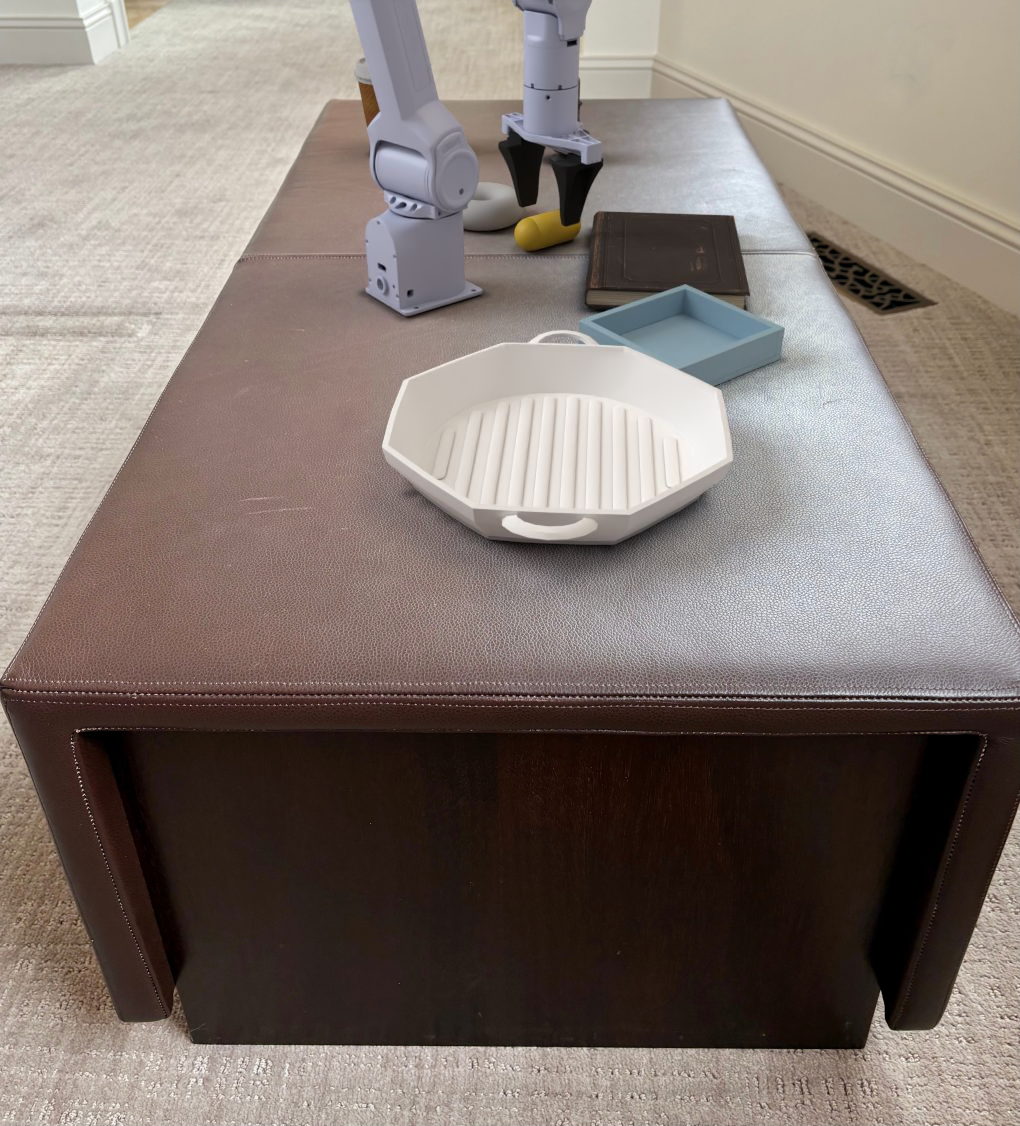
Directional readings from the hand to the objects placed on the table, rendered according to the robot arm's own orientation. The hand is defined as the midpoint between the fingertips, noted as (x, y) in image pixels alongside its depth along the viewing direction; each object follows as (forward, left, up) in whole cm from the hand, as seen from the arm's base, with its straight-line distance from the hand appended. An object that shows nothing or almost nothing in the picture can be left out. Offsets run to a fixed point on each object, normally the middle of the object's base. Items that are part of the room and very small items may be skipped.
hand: (548, 214), depth 118 cm
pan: (-29, -37, -4) cm, 47 cm away
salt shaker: (+22, +23, -4) cm, 32 cm away
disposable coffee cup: (+5, +40, -4) cm, 40 cm away
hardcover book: (+5, -13, -4) cm, 15 cm away
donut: (-1, +11, -4) cm, 12 cm away
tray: (-8, -29, -4) cm, 30 cm away
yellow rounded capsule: (0, 0, -4) cm, 4 cm away
